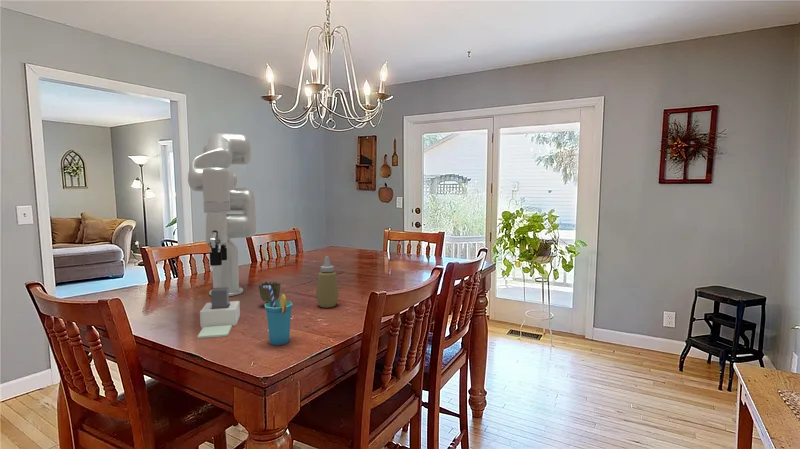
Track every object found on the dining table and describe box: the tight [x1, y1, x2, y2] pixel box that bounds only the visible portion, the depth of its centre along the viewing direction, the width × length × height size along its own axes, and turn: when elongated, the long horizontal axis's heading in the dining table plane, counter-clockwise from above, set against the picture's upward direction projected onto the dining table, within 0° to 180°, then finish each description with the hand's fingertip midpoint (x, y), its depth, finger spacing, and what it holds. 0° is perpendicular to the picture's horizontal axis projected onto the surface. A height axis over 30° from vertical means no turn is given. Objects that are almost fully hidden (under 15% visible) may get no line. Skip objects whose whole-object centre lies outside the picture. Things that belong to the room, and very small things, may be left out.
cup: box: [263, 285, 293, 346], centre depth 115 cm, size 14×8×15 cm, turn 46°
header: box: [199, 300, 241, 329], centre depth 131 cm, size 10×10×5 cm
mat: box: [197, 325, 233, 339], centre depth 122 cm, size 8×8×1 cm
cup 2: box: [258, 281, 281, 304], centre depth 149 cm, size 8×7×8 cm
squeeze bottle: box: [315, 255, 340, 309], centre depth 148 cm, size 8×8×18 cm
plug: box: [210, 287, 230, 309], centre depth 131 cm, size 4×4×10 cm
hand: (219, 262), depth 129 cm, fingers open, 9 cm apart
